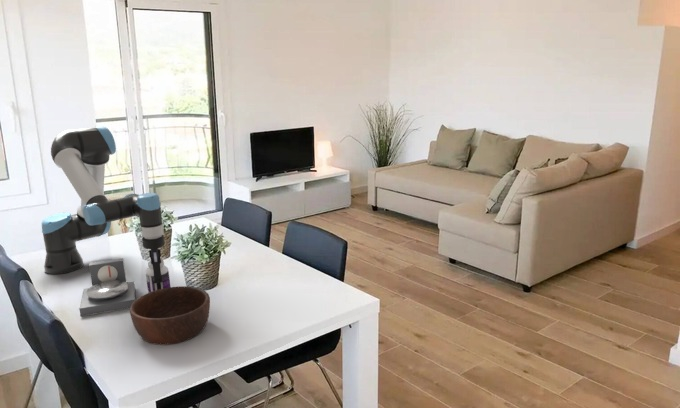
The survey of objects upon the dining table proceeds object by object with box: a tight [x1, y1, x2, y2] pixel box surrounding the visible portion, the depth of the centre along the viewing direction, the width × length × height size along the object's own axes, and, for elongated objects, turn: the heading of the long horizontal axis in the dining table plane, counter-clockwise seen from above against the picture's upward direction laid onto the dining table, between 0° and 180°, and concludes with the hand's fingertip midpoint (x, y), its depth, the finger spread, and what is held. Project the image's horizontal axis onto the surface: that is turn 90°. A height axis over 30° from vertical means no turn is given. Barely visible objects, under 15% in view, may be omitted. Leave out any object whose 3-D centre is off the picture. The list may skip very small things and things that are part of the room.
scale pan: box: [87, 281, 128, 299], centre depth 198 cm, size 14×14×2 cm
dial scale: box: [78, 257, 136, 317], centre depth 199 cm, size 21×18×12 cm
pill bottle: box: [145, 259, 171, 293], centre depth 199 cm, size 8×8×14 cm
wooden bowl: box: [129, 286, 211, 346], centre depth 176 cm, size 25×25×10 cm
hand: (159, 293), depth 200 cm, fingers closed on pill bottle, 8 cm apart
